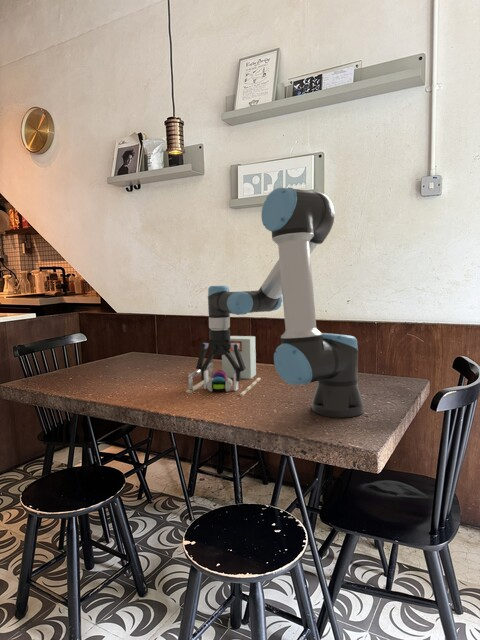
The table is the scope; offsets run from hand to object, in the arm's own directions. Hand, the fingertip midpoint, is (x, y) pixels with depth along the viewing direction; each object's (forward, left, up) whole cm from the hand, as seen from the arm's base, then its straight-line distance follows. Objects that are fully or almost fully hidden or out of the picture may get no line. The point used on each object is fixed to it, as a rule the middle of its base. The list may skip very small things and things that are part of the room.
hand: (221, 389), depth 160 cm
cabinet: (+22, 0, 0) cm, 22 cm away
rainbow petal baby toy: (0, 0, -1) cm, 1 cm away
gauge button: (+17, 0, +11) cm, 21 cm away
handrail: (+6, +10, 0) cm, 12 cm away
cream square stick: (+6, -10, 0) cm, 11 cm away
